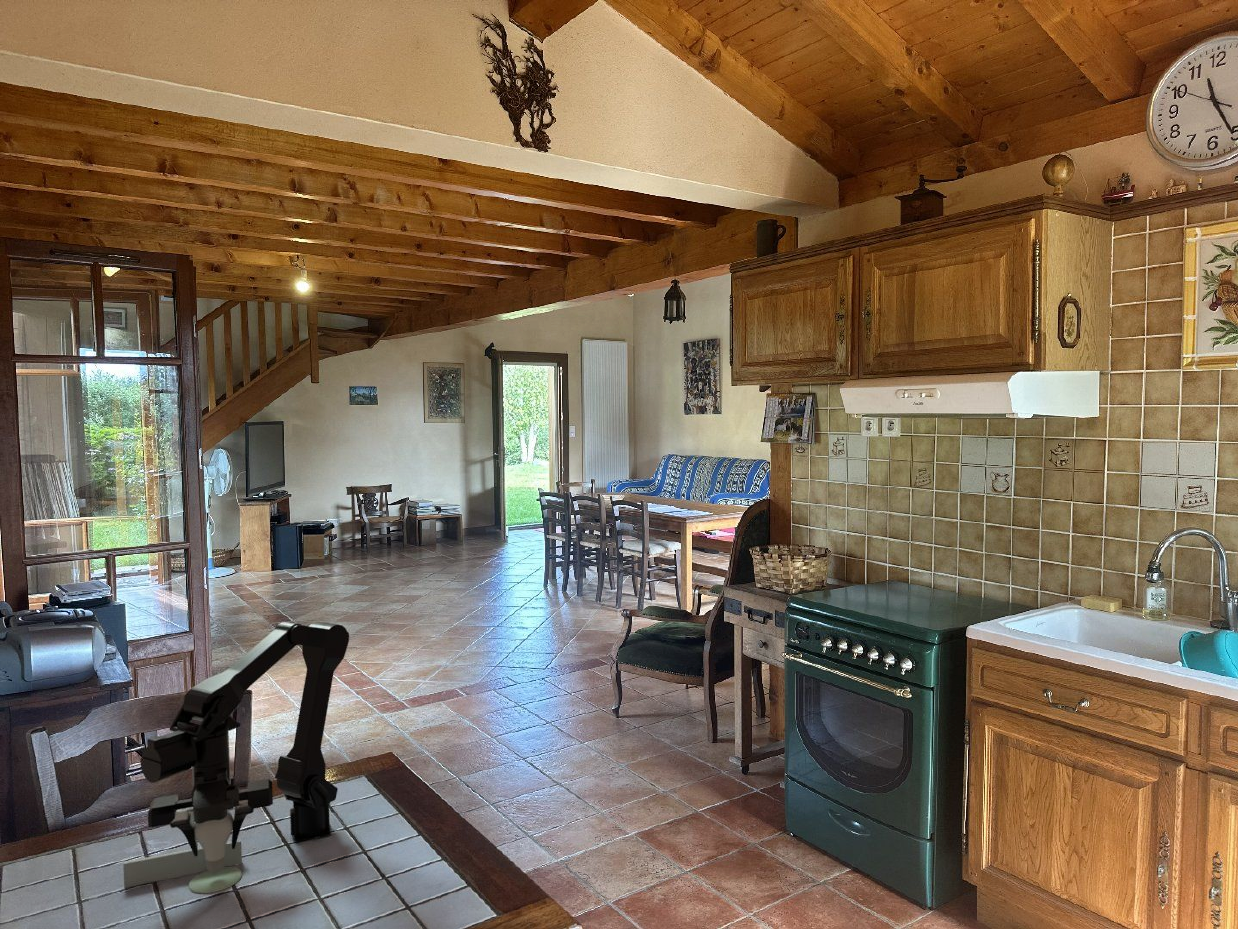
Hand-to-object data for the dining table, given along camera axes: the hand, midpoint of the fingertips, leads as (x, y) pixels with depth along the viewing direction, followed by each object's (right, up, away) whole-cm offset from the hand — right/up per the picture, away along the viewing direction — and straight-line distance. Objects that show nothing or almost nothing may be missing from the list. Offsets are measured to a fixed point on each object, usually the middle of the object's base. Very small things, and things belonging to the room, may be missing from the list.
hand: (214, 851), depth 142 cm
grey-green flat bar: (-6, -5, +2) cm, 8 cm away
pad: (0, -5, 0) cm, 5 cm away
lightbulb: (0, -4, 0) cm, 4 cm away
